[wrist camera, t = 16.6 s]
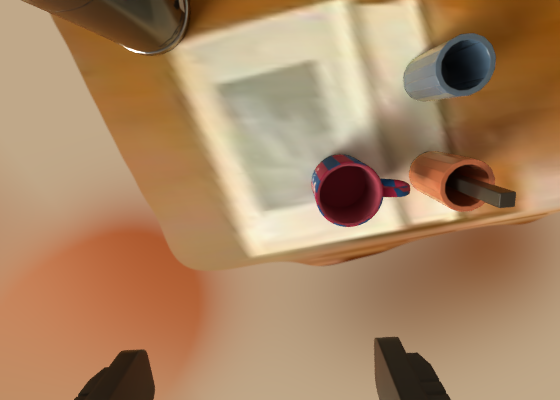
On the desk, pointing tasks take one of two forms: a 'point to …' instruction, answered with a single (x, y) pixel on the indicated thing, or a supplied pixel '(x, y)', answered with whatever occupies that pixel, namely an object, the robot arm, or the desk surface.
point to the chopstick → (482, 190)
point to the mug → (351, 190)
